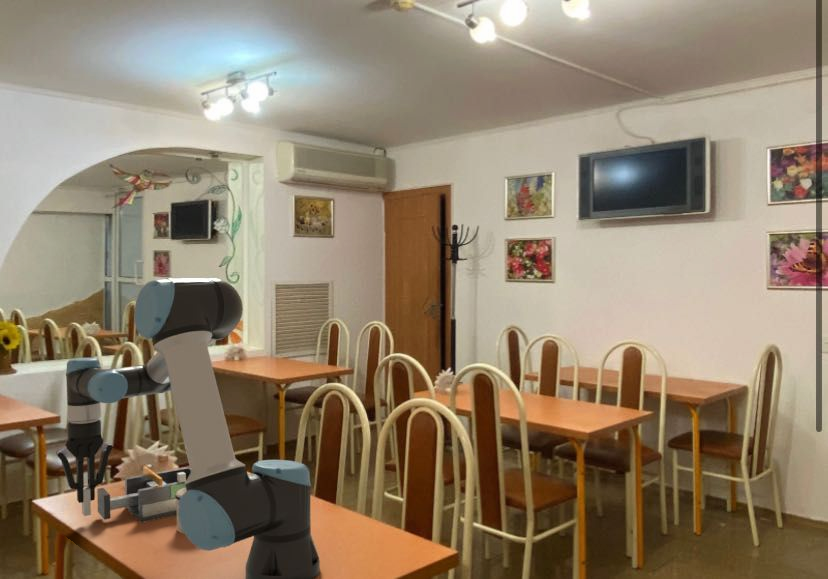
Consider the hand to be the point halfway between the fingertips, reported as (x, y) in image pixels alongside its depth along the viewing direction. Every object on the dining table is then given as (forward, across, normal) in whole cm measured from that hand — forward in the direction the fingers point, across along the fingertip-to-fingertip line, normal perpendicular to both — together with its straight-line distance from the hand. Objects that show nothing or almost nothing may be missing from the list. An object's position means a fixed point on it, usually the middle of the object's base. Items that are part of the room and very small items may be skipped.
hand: (86, 514), depth 172 cm
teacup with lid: (+3, -22, +19) cm, 29 cm away
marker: (-6, -22, +6) cm, 23 cm away
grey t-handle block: (+1, -12, 0) cm, 12 cm away
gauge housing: (+3, -20, 0) cm, 20 cm away
